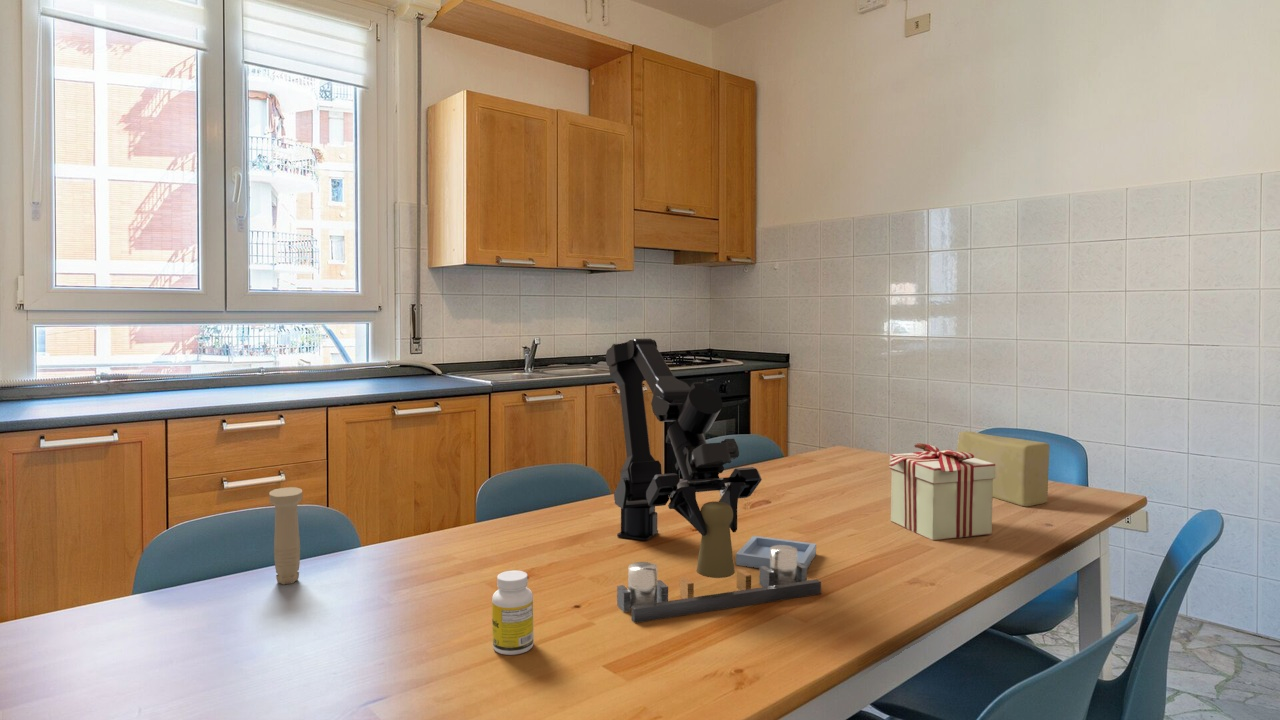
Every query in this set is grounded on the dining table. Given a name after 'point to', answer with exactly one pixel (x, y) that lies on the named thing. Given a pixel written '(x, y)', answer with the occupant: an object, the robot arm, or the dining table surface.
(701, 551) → the olive knobbed post
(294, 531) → the handle
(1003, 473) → the cheese
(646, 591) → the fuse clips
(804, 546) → the tray
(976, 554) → the dining table surface
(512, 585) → the supplement bottle
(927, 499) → the gift box
